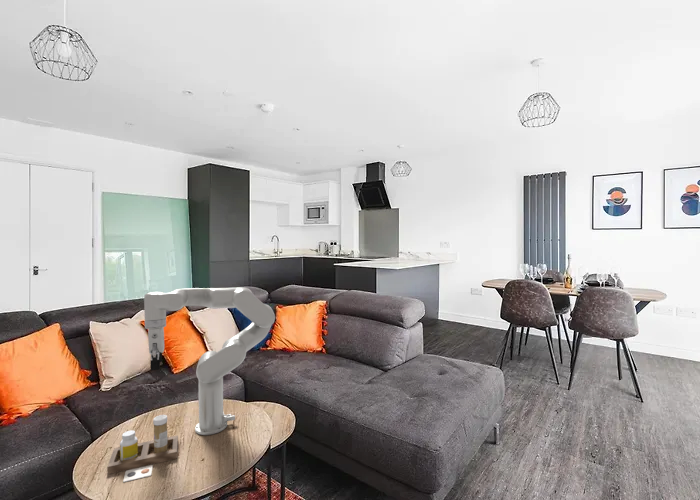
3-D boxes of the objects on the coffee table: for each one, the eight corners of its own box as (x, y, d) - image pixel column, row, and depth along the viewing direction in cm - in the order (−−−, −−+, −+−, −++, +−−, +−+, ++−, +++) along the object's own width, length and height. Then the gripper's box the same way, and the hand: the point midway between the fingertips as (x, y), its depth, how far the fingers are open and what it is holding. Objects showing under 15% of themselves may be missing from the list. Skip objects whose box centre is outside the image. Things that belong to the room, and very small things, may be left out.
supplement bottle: (141, 458, 130) (140, 431, 129) (126, 466, 125) (126, 438, 124) (131, 454, 132) (131, 428, 132) (116, 462, 127) (116, 435, 127)
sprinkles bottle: (151, 453, 132) (151, 417, 132) (164, 448, 136) (164, 413, 135) (157, 458, 129) (156, 421, 129) (170, 452, 133) (169, 416, 132)
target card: (152, 465, 125) (152, 464, 125) (151, 475, 120) (151, 474, 120) (126, 471, 122) (126, 470, 122) (122, 482, 116) (122, 481, 116)
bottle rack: (177, 441, 140) (177, 435, 140) (176, 458, 129) (176, 451, 129) (114, 455, 132) (114, 448, 131) (107, 474, 121) (107, 467, 120)
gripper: (164, 326, 137) (165, 371, 137) (167, 318, 153) (168, 358, 153) (142, 329, 134) (143, 374, 134) (147, 319, 150) (148, 360, 150)
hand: (156, 365), depth 144 cm, fingers open, 9 cm apart
